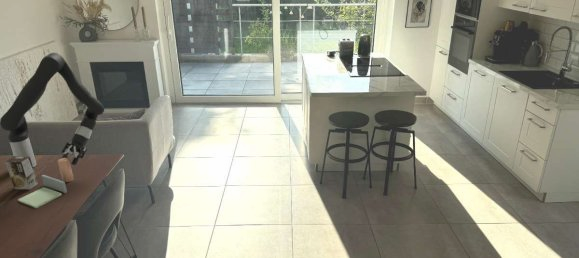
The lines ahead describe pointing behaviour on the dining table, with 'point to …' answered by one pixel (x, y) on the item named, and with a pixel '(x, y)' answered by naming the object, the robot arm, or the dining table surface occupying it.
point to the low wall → (54, 183)
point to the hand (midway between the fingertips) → (67, 163)
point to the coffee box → (21, 172)
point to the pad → (39, 197)
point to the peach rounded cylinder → (65, 169)
